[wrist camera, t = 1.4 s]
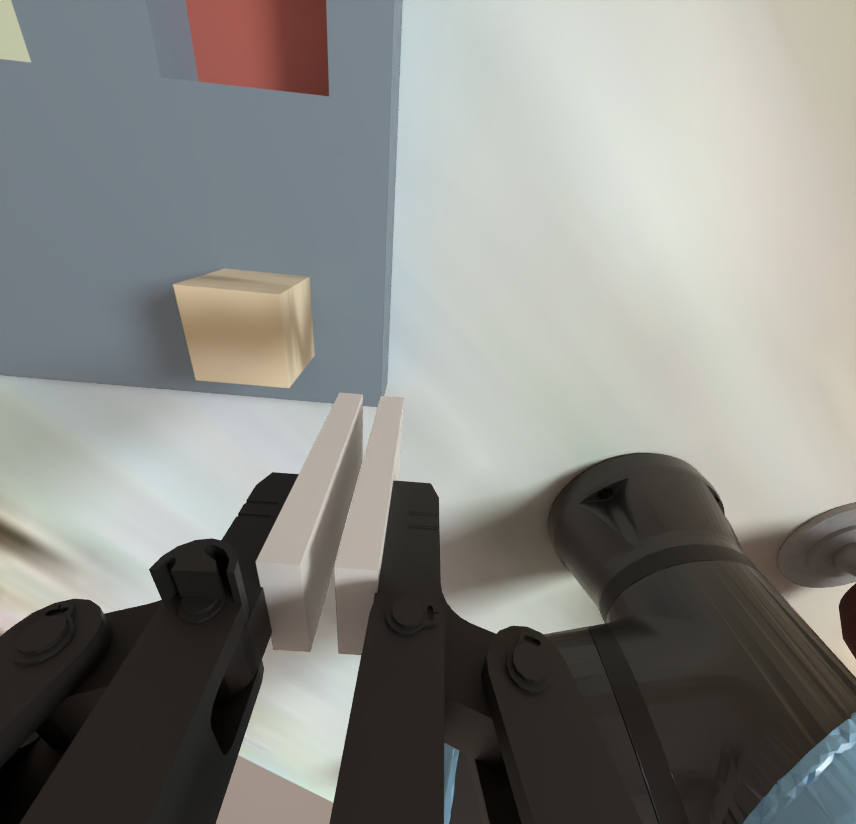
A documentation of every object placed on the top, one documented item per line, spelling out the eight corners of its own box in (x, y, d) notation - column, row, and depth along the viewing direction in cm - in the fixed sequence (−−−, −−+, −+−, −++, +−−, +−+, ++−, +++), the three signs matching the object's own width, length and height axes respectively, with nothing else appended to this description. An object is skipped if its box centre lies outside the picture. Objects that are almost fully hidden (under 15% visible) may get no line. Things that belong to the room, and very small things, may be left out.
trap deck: (387, 383, 30) (381, 407, 26) (-24, 347, 29) (-87, 367, 25) (432, -747, 11) (432, -1176, 8) (-729, -972, 10) (-1341, -1592, 7)
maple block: (314, 355, 24) (289, 388, 20) (238, 348, 24) (195, 380, 20) (309, 276, 22) (279, 294, 18) (224, 268, 22) (172, 284, 18)
